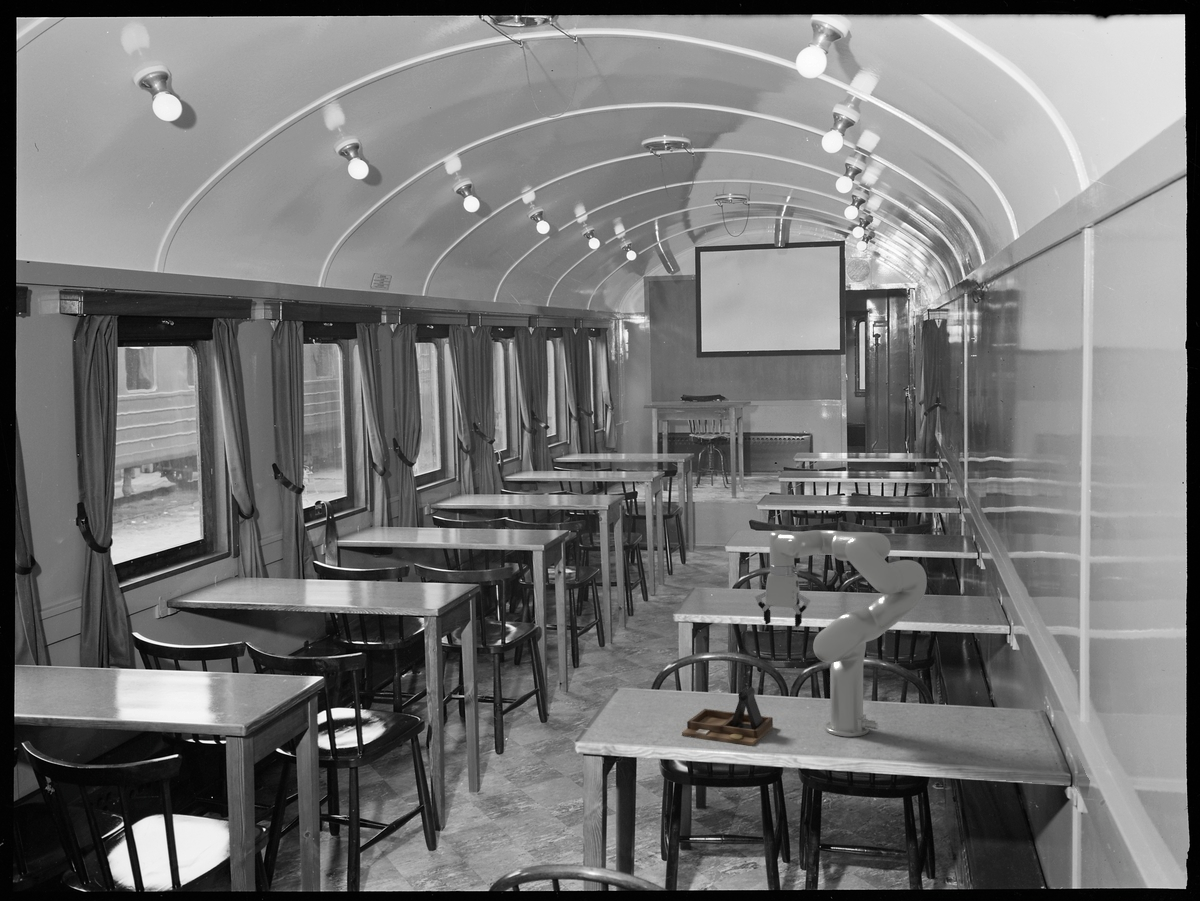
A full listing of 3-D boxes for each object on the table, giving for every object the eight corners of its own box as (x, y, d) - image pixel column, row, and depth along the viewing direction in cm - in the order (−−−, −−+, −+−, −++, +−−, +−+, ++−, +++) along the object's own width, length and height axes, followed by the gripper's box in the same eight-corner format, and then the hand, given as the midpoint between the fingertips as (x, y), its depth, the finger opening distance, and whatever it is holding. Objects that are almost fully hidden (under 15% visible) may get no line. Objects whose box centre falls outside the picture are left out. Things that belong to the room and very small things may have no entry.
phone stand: (764, 727, 319) (764, 687, 319) (758, 733, 314) (757, 693, 313) (736, 723, 324) (735, 684, 323) (729, 729, 318) (728, 689, 317)
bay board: (772, 727, 322) (772, 717, 322) (752, 745, 306) (752, 735, 306) (704, 718, 333) (704, 708, 332) (682, 735, 317) (681, 725, 316)
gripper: (812, 570, 332) (813, 624, 333) (759, 566, 340) (760, 619, 341) (805, 574, 325) (806, 629, 326) (751, 570, 333) (752, 624, 334)
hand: (782, 624), depth 333 cm, fingers open, 9 cm apart
